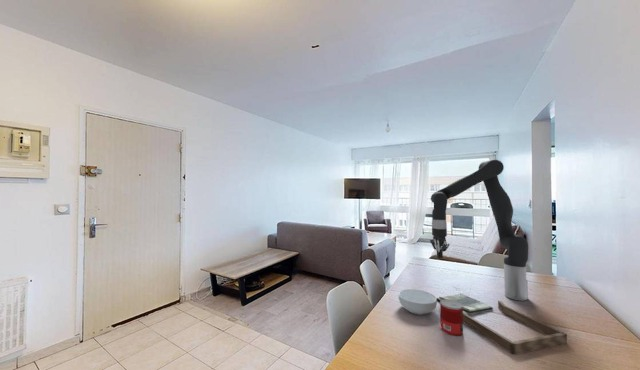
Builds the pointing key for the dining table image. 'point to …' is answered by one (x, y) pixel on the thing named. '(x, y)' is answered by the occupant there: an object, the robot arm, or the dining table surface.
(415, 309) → the cereal bowl
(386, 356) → the dining table surface
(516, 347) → the towel holder
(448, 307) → the canned food
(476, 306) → the dish towel
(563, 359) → the dining table surface
